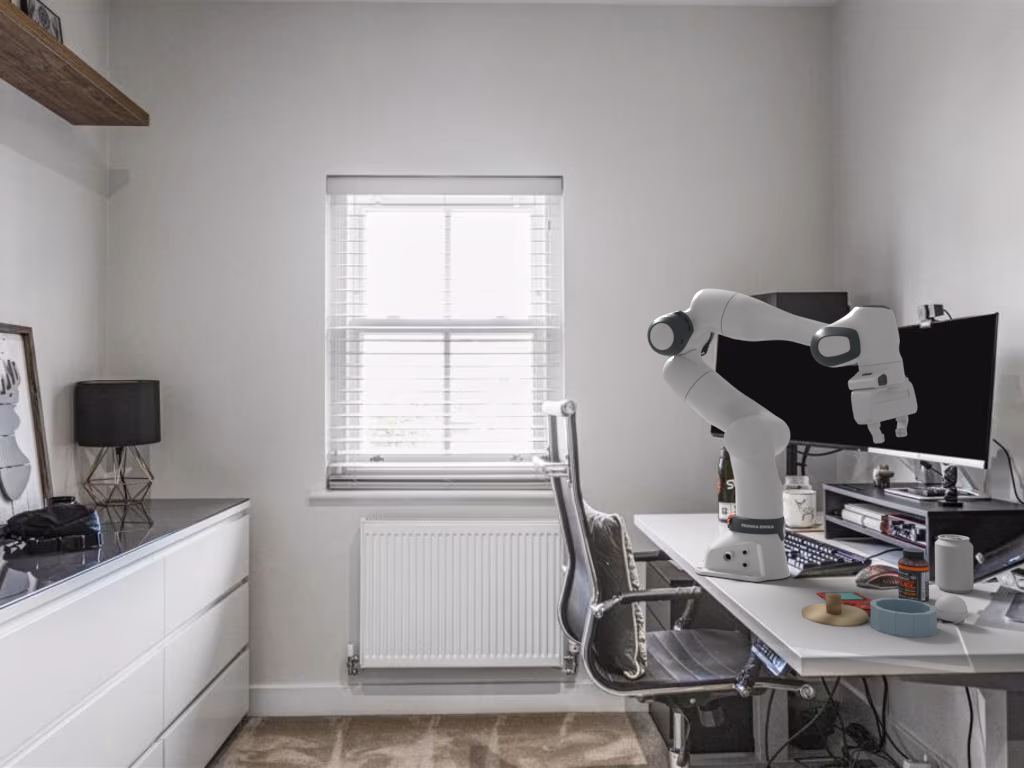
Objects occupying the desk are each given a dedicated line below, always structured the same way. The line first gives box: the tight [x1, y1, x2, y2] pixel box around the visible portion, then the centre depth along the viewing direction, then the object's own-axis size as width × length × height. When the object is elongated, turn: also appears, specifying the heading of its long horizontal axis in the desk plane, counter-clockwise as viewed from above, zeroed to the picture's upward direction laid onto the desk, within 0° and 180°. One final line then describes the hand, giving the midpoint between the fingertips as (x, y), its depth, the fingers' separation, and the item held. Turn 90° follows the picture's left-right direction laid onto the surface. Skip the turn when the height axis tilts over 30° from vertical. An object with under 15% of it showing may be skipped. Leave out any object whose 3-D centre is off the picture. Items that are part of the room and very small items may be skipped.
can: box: [934, 534, 975, 594], centre depth 179 cm, size 8×8×12 cm
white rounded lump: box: [934, 593, 969, 625], centre depth 153 cm, size 8×6×6 cm
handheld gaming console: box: [815, 591, 873, 614], centre depth 166 cm, size 9×1×15 cm
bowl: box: [870, 597, 938, 639], centre depth 149 cm, size 11×11×5 cm
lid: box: [801, 593, 869, 627], centre depth 156 cm, size 12×12×4 cm
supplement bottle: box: [897, 547, 930, 603], centre depth 168 cm, size 6×6×11 cm
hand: (890, 439), depth 174 cm, fingers open, 8 cm apart
